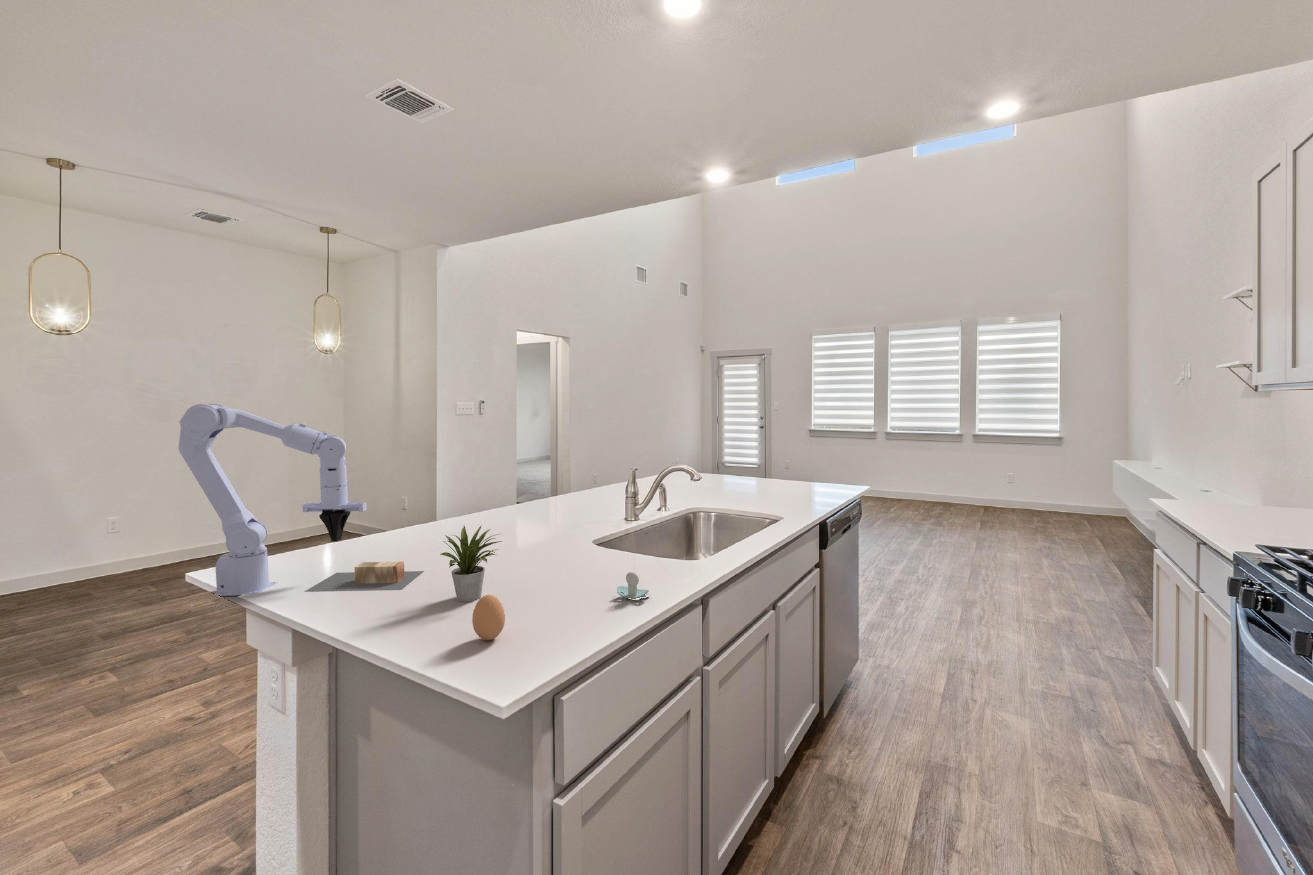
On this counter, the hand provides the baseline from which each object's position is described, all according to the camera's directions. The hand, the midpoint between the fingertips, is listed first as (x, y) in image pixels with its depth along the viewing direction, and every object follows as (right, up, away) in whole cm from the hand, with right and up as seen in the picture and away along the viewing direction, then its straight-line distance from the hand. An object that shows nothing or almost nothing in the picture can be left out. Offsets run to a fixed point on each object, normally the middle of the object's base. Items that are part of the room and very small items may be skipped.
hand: (336, 540), depth 138 cm
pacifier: (+74, -11, -13) cm, 76 cm away
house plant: (+37, -11, -14) cm, 41 cm away
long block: (+7, -7, -2) cm, 10 cm away
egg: (+48, -12, -35) cm, 60 cm away
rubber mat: (+9, -10, -2) cm, 13 cm away
